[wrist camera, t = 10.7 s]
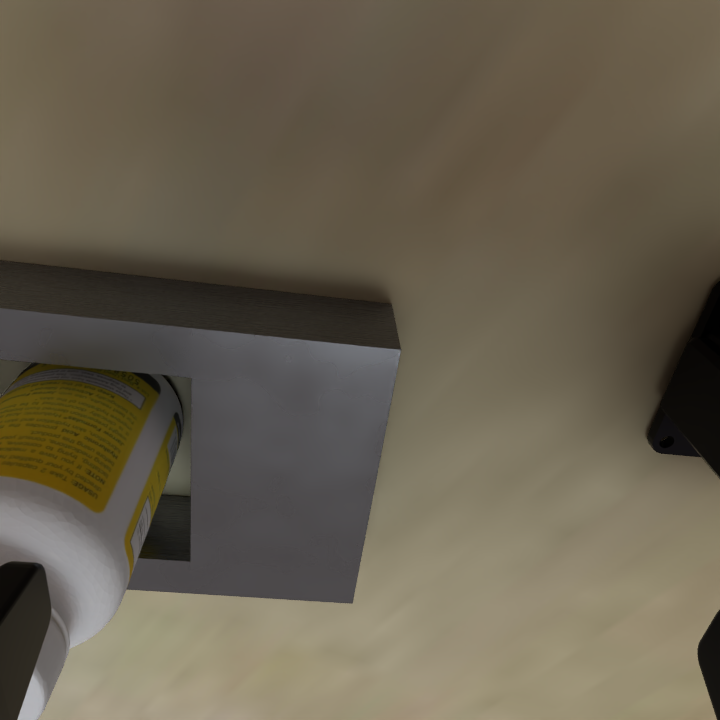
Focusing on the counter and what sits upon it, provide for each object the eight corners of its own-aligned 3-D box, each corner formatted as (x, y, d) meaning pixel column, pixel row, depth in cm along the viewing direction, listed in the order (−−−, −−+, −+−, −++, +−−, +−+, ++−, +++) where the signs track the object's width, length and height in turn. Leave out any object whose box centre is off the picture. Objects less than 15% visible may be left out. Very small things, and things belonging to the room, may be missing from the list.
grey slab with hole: (391, 304, 19) (401, 349, 16) (350, 538, 24) (352, 603, 21) (-240, 234, 17) (-341, 272, 15) (-147, 502, 22) (-212, 568, 19)
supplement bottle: (-15, 367, 20) (-286, 636, 11) (139, 317, 19) (-22, 564, 10) (74, 489, 22) (-90, 786, 14) (212, 450, 22) (132, 735, 13)
